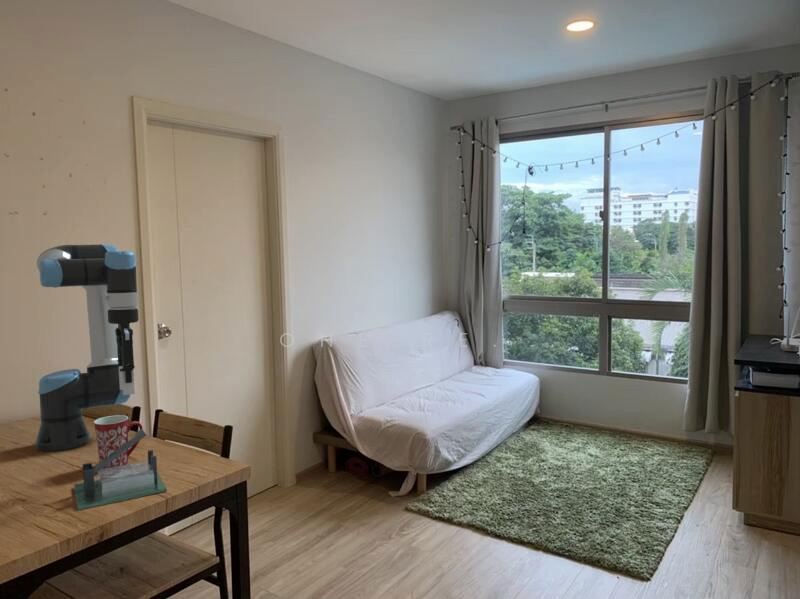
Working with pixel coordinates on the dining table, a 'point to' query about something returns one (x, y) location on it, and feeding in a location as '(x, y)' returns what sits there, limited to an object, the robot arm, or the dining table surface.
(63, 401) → the robot arm
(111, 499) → the heatsink assembly
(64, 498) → the dining table surface
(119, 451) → the strap
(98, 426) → the mug
